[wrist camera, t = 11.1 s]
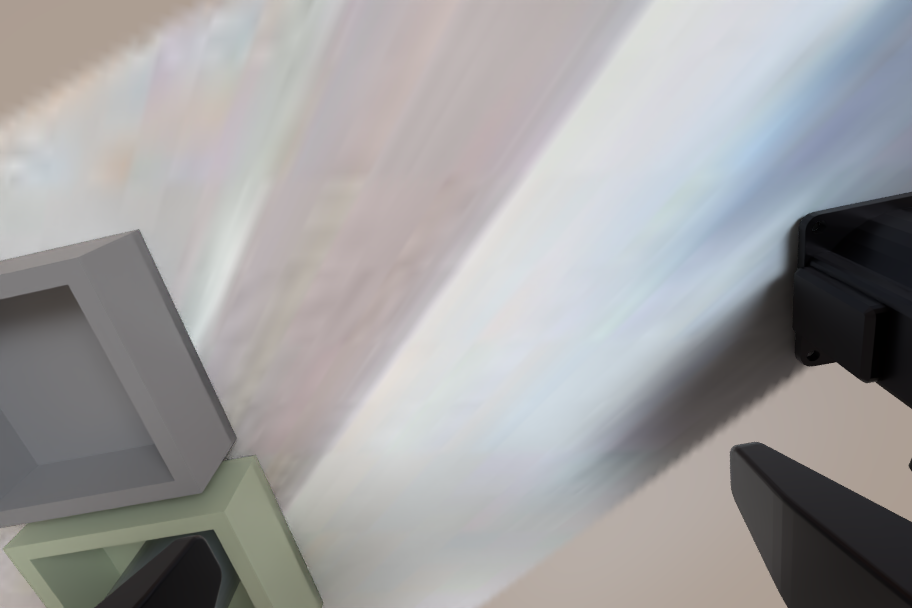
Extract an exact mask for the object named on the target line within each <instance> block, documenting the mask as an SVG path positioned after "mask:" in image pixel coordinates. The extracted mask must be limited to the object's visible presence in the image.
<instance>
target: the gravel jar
mask: <svg viewBox="0 0 912 608" xmlns="http://www.w3.org/2000/svg"><path fill="white" fill-rule="evenodd" d="M194 535H201V536H202V537H204V538H205V539H206V541H207V543H208V545H209V546H210V548H211V550H212V552H213V554H214V555H215V557H216V559H217V561H218V563H219V565H220V567H221V571H222V581H221V586H220V590H219V594H218V598H217V602H216V606H215V608H228V607H229V605H230V602H231V600H232V598H233V596H234V594H235V592H236V590H237V587H238V585H239V583H240V581H241V580H240V578H239V576H238V574H237V572H236V570H235V568H234V567H233V565H232V563H231V561H230V559H229V557H228V555H227V553H226V552H225V550H224V548H223V546H222V544H221V542H220V540H219V538H218V537H217V535H216V533H215V531H214V529H212V530H206V531H200V532H194V533H188V534H182V535H176V536H170V537H164V538H158V539H152V540H146V541H145V542H144V544H143V545H142V547H141V548H140V549H139V551H138V552H137V554H136V555H135V556H134V558H133V559H132V561H131V562H130V563H129V565H128V566H127V568H126V569H125V570H124V572H123V573H122V575H121V576H120V577H119V579H118V580H117V582H116V583H115V584H114V586H113V587H112V589H111V590H110V591H109V593H108V594H107V596H109V595H110V594H111V593H112V592H113V591H115V590H116V589H117V588H118V587H119V586H121V585H122V584H123V583H124V582H125V581H127V580H128V579H129V578H130V577H131V576H133V575H134V574H135V573H136V572H137V571H139V570H140V569H141V568H142V567H143V566H145V565H146V564H147V563H148V562H149V561H151V560H152V559H153V558H154V557H155V556H157V555H158V554H159V553H160V552H161V551H162V550H164V549H165V548H166V547H167V546H168V545H170V544H171V543H172V542H173V541H175V540H176V539H179V538H182V537H188V536H194ZM107 596H106V597H107ZM106 597H105V598H106ZM105 598H104V599H105Z"/></svg>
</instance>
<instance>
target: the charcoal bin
mask: <svg viewBox="0 0 912 608" xmlns="http://www.w3.org/2000/svg"><path fill="white" fill-rule="evenodd" d="M236 439H237V438H236V436H235V434H234V431H233V429H232V427H231V425H230V423H229V421H228V419H227V416H226V414H225V412H224V410H223V408H222V406H221V404H220V402H219V399H218V397H217V395H216V393H215V391H214V389H213V387H212V384H211V382H210V380H209V378H208V376H207V374H206V372H205V370H204V367H203V365H202V363H201V361H200V359H199V357H198V355H197V352H196V350H195V348H194V346H193V344H192V342H191V340H190V337H189V335H188V333H187V331H186V329H185V327H184V325H183V323H182V320H181V318H180V316H179V314H178V312H177V310H176V308H175V305H174V303H173V301H172V299H171V297H170V295H169V293H168V291H167V288H166V286H165V284H164V282H163V280H162V278H161V276H160V273H159V271H158V269H157V267H156V265H155V263H154V261H153V259H152V256H151V254H150V252H149V250H148V248H147V246H146V244H145V241H144V239H143V237H142V235H141V233H140V231H139V229H138V230H134V231H130V232H125V233H121V234H116V235H112V236H108V237H103V238H99V239H95V240H90V241H86V242H81V243H77V244H73V245H68V246H64V247H59V248H55V249H51V250H46V251H42V252H38V253H33V254H29V255H24V256H20V257H16V258H11V259H7V260H2V261H0V528H3V527H9V526H15V525H20V524H26V523H32V522H38V521H44V520H49V519H55V518H61V517H67V516H72V515H78V514H84V513H90V512H96V511H101V510H107V509H113V508H119V507H124V506H130V505H136V504H142V503H147V502H153V501H159V500H165V499H171V498H176V497H182V496H188V495H194V494H199V493H202V492H203V491H204V489H205V487H206V486H207V484H208V483H209V481H210V480H211V478H212V476H213V475H214V473H215V472H216V470H217V469H218V467H219V465H220V464H221V462H222V461H223V459H224V457H225V456H226V454H227V453H228V451H229V450H230V448H231V446H232V445H233V443H234V442H235V440H236Z"/></svg>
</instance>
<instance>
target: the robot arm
mask: <svg viewBox="0 0 912 608" xmlns="http://www.w3.org/2000/svg"><path fill="white" fill-rule="evenodd" d="M818 221H820V225H819V227H818V228H817V229H816V230H815V231H813V230H812V228H813V225H814V224H815V223H816V222H818ZM793 330H794V331H796V340H795V355H796V358H797V359H798V360H799V361H800V362H801V363H803V364H804V365H806V366H817V365H823V364H829V363H834V362H837V363H838V364H840V365H841V366H842V367H844V368H845V369H846V370H848V371H849V372H850V373H852V374H853V375H854V376H856V377H857V378H858V379H860V380H861V381H863V382H865V383H871V382H876V383H877V384H879V385H880V386H881V387H883V388H884V389H885V390H887V391H888V392H889V393H891V394H892V395H894V396H895V397H896V398H898V399H899V400H900V401H902V402H903V403H904V404H906V405H907V406H909V407H910V408H911V409H912V192H909V193H904V194H899V195H894V196H889V197H884V198H879V199H875V200H870V201H865V202H860V203H855V204H850V205H845V206H840V207H835V208H830V209H826V210H821V211H816V212H812V213H809V214H807V215H806V216H805V217H804V218H803V219H802V221H801V222H800V226H799V244H798V269H797V271H796V273H795V274H794V297H793ZM813 350H814V352H813V353H812V354H811V355H810V356H808V357H807V355H808V354H809V353H810V352H811V351H813ZM909 468H910V469H911V471H912V459H911V461H910V463H909ZM730 473H731V490H732V494H733V497H734V499H735V502H736V504H737V506H738V508H739V510H740V512H741V514H742V516H743V519H744V521H745V523H746V525H747V527H748V529H749V531H750V533H751V535H752V537H753V539H754V542H755V544H756V546H757V548H758V550H759V552H760V554H761V556H762V558H763V560H764V562H765V564H766V567H767V569H768V571H769V573H770V575H771V577H772V579H773V581H774V583H775V585H776V587H777V589H778V591H779V593H780V595H781V597H782V598H783V600H784V602H785V604H786V605H787V607H788V608H912V522H911V521H909V520H907V519H905V518H903V517H901V516H899V515H897V514H895V513H893V512H892V511H890V510H888V509H886V508H884V507H882V506H880V505H878V504H876V503H874V502H872V501H871V500H869V499H866V498H865V497H863V496H861V495H859V494H857V493H855V492H854V491H851V490H850V489H848V488H846V487H844V486H842V485H840V484H838V483H836V482H834V481H833V480H831V479H829V478H827V477H825V476H823V475H821V474H819V473H817V472H815V471H814V470H811V469H810V468H808V467H806V466H804V465H802V464H800V463H798V462H796V461H795V460H792V459H791V458H789V457H787V456H785V455H783V454H781V453H779V452H777V451H776V450H773V449H772V448H770V447H768V446H766V445H764V444H762V443H759V442H752V443H746V444H740V445H735V446H733V447H732V448H731V451H730ZM221 581H222V571H221V567H220V565H219V563H218V561H217V559H216V557H215V555H214V554H213V552H212V550H211V548H210V546H209V545H208V543H207V541H206V539H205V538H204V537H202V536H201V535H194V536H188V537H182V538H179V539H176V540H175V541H173V542H172V543H171V544H170V545H168V546H167V547H166V548H165V549H164V550H162V551H161V552H160V553H159V554H158V555H157V556H155V557H154V558H153V559H152V560H151V561H149V562H148V563H147V564H146V565H145V566H143V567H142V568H141V569H140V570H139V571H137V572H136V573H135V574H134V575H133V576H131V577H130V578H129V579H128V580H127V581H125V582H124V583H123V584H122V585H121V586H119V587H118V588H117V589H116V590H115V591H113V592H112V593H111V594H110V595H109V596H107V597H106V598H105V599H104V600H103V601H101V602H100V603H99V604H98V605H97V606H96V607H94V608H215V606H216V602H217V598H218V594H219V590H220V586H221Z"/></svg>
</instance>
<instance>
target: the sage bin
mask: <svg viewBox="0 0 912 608" xmlns="http://www.w3.org/2000/svg"><path fill="white" fill-rule="evenodd" d="M212 529H214V531H215V533H216V535H217V537H218V538H219V540H220V542H221V544H222V546H223V548H224V550H225V552H226V553H227V555H228V557H229V559H230V561H231V563H232V565H233V567H234V568H235V570H236V572H237V574H238V576H239V578H240V580H241V581H240V583H239V585H238V587H237V590H236V592H235V594H234V596H233V598H232V600H231V602H230V605H229V607H228V608H322V606H323V601H322V599H321V597H320V595H319V593H318V590H317V588H316V586H315V584H314V582H313V579H312V577H311V575H310V573H309V571H308V569H307V566H306V564H305V562H304V560H303V558H302V556H301V553H300V551H299V549H298V547H297V545H296V542H295V540H294V538H293V536H292V534H291V532H290V529H289V527H288V525H287V523H286V521H285V518H284V516H283V514H282V512H281V510H280V508H279V505H278V503H277V501H276V499H275V497H274V494H273V492H272V490H271V488H270V486H269V484H268V481H267V479H266V477H265V475H264V473H263V470H262V468H261V466H260V464H259V462H258V460H257V457H256V455H254V456H249V457H243V458H238V459H232V460H226V461H222V462H221V464H220V465H219V467H218V469H217V470H216V472H215V473H214V475H213V476H212V478H211V480H210V481H209V483H208V484H207V486H206V487H205V489H204V491H203V492H202V493H199V494H194V495H188V496H182V497H176V498H171V499H165V500H159V501H153V502H147V503H142V504H136V505H130V506H124V507H119V508H113V509H107V510H101V511H96V512H90V513H84V514H78V515H72V516H67V517H61V518H55V519H49V520H44V521H38V522H32V523H28V524H27V525H26V526H25V527H24V528H23V529H22V530H21V531H20V532H19V533H18V534H17V535H16V536H15V537H14V538H13V539H12V540H11V541H10V542H9V543H8V544H7V545H6V546H5V547H4V548H3V550H4V552H5V553H6V554H7V556H8V557H9V558H10V560H11V561H12V562H13V564H14V565H15V566H16V568H17V569H18V570H19V572H20V573H21V574H22V576H23V577H24V578H25V580H26V581H27V582H28V584H29V585H30V586H31V588H32V589H33V590H34V592H35V593H36V594H37V596H38V597H39V598H40V599H41V601H42V602H43V603H44V605H45V606H46V607H47V608H94V607H96V606H97V605H98V604H99V603H100V602H101V601H103V600H104V598H105V597H106V596H107V594H108V593H109V591H110V590H111V589H112V587H113V586H114V584H115V583H116V582H117V580H118V579H119V577H120V576H121V575H122V573H123V572H124V570H125V569H126V568H127V566H128V565H129V563H130V562H131V561H132V559H133V558H134V556H135V555H136V554H137V552H138V551H139V549H140V548H141V547H142V545H143V544H144V542H145V541H146V540H152V539H158V538H164V537H170V536H176V535H182V534H188V533H194V532H200V531H206V530H212Z"/></svg>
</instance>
